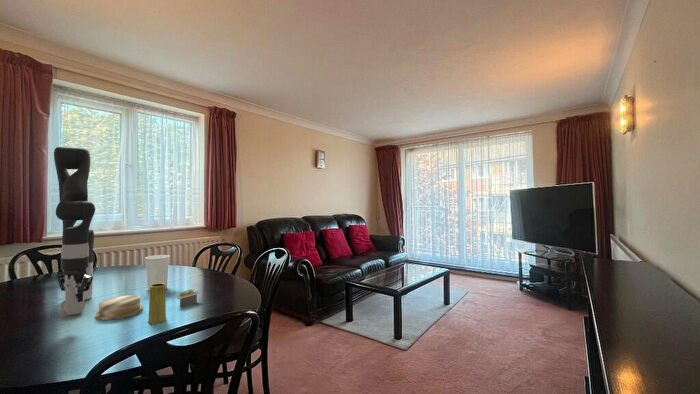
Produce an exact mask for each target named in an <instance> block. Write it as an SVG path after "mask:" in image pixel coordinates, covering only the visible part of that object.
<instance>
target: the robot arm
mask: <svg viewBox="0 0 700 394" xmlns="http://www.w3.org/2000/svg"><path fill="white" fill-rule="evenodd" d="M53 159H54V165H55V170H56V175H57V181H58V182H57V183H58V192H59V193H58V194H59V195H58V196H59V202H58V204H57V206H56V208H55V216H56V217H57V219H59V220H60V221H62V243H61V251H60V270H61V271H63V273H62V274H59V275H56V279H57V283H58V285H59V288H60V291H61V292H64V300H65V299H66V295H67V291H68V287H69V285H68V284H67V280H68V279H69V278H71V280H73V285H72V286H73V288H74V289H75V295H76V297H77V298H78V302H82V301H83V297H84V301H86V300H90V299H91V298H92V297H93V284H94V283H93V281H94V274H93V273H94V267H93V266H94V242H95V233H94V230H93V229H92V228H90V227H91V223H92V221H93V218H94V215H95V212H96V206H95V204H94V203H93V202H92V201H89V197H88V196H89V195H88V194H89V193H88V190H89V189H88V182H89V181H88V180H89V176H90V170H91V154H90V152H89V150H88V149H87V148H86V147H85V148H84V147H75V146H74V147H73V146H70V147H69V146H57V147H56V148H54V151H53ZM68 170H75V172H72V174H70V173H69V171H68ZM78 221H81V223H79V224H78V225H75V224H76V223H77V222H78ZM81 282H82V283H81ZM78 283H80V284H78ZM77 284H78V285H77ZM78 287H80V289H79V288H78ZM80 299H81V300H80Z"/></svg>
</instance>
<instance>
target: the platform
mask: <svg viewBox="0 0 700 394" xmlns="http://www.w3.org/2000/svg"><path fill="white" fill-rule="evenodd" d="M200 293H201V291H194V289H192V288H191V289H187V290H185V291H184V290H183V291H180V292H179V295H177V296H176V298H177V299H178V300H179V307H180V308H182V307H185V306H189V305H193V304H195V303H197V302H198V295H199V294H200Z"/></svg>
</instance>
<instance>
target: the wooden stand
mask: <svg viewBox="0 0 700 394" xmlns="http://www.w3.org/2000/svg"><path fill="white" fill-rule="evenodd" d="M143 310H144V306H143V305H142V304H141V297H140V296H139V295H133V294H132V295H131V294H130V295H121V296H115V297H111V298H107V299H104V300H102V301H100V302H99V303H98V311H97V312H95V315H94V318H95V319H96V320H99V321H113V320H120V319H121V320H122V319H125V318H128V317H132V316H135V315H137V314H139V313H141V312H142V311H143Z"/></svg>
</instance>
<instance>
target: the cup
mask: <svg viewBox="0 0 700 394" xmlns="http://www.w3.org/2000/svg"><path fill="white" fill-rule="evenodd" d="M170 258H171V255H169V254H155V255H149V256H145V257H144V267H145V268H146V291H147V292H148V293H150V285H152V284H157V283H165V284H166V286H165V290H167V289H168V277H169V276H168V275H169V266H170V261H171V260H170Z"/></svg>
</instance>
